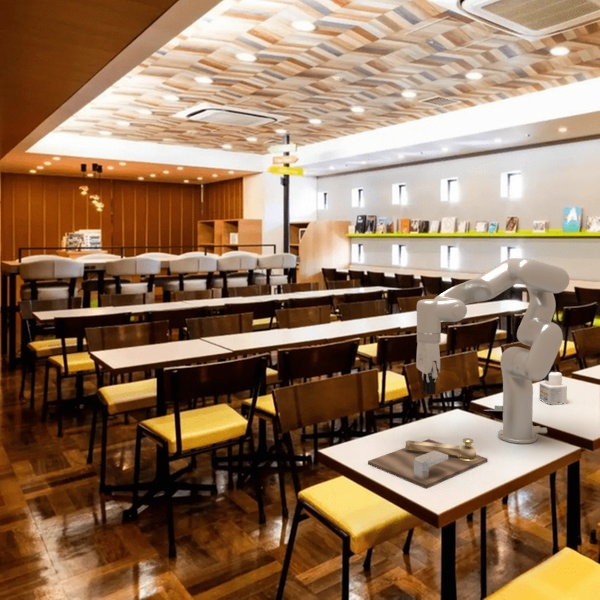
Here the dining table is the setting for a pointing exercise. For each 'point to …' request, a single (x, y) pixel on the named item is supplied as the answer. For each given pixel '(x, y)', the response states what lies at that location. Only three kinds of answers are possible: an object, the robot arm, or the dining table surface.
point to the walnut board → (404, 467)
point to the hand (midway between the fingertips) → (429, 392)
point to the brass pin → (468, 445)
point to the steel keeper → (427, 463)
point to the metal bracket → (496, 408)
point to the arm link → (442, 448)
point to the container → (553, 389)
